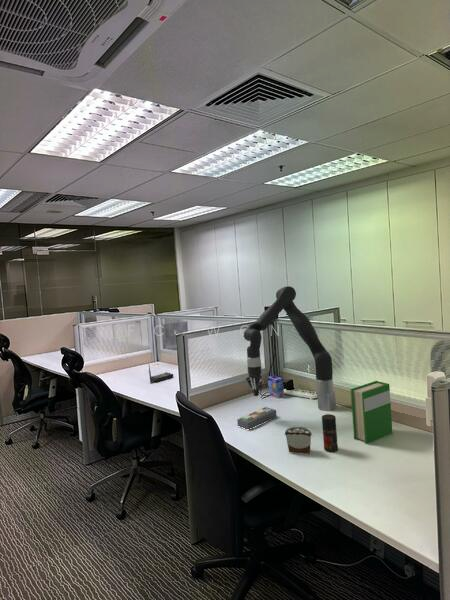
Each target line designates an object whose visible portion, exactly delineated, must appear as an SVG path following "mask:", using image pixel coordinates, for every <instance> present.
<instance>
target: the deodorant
mask: <svg viewBox="0 0 450 600" xmlns="http://www.w3.org/2000/svg"><path fill="white" fill-rule="evenodd" d="M321 424H322V437H323V438H322V439H323V450H324V452H327V453H336V452H338V450H339V447H338V435H337V434H338V433H337V420H336V415H334V414H329V413H327V414H324V415H322V416H321Z"/></svg>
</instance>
